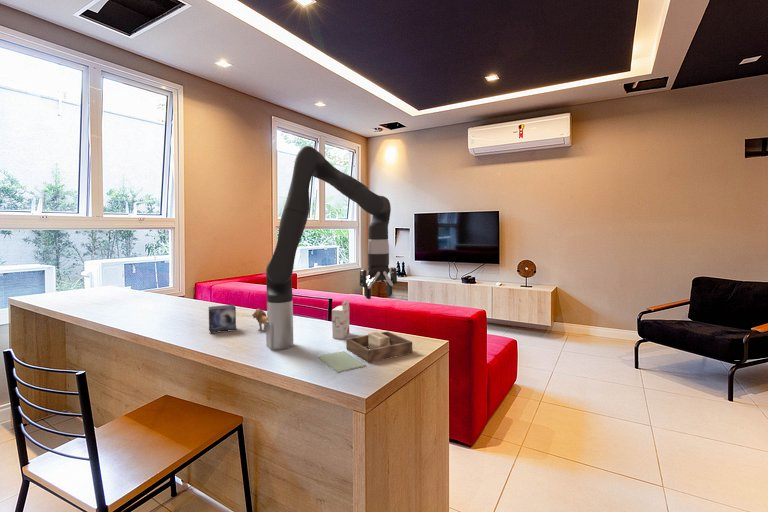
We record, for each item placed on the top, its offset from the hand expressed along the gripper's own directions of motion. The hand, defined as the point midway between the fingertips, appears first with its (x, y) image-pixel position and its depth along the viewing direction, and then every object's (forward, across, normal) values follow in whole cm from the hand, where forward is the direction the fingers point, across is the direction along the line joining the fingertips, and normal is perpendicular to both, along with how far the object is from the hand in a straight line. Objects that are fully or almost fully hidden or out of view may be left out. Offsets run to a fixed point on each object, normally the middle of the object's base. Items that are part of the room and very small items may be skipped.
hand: (378, 297), depth 130 cm
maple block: (+20, 0, 0) cm, 20 cm away
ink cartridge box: (+20, -3, +25) cm, 32 cm away
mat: (+19, -16, -2) cm, 25 cm away
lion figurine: (+20, -28, +49) cm, 60 cm away
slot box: (+20, 0, 0) cm, 20 cm away
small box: (+19, -43, +60) cm, 76 cm away
